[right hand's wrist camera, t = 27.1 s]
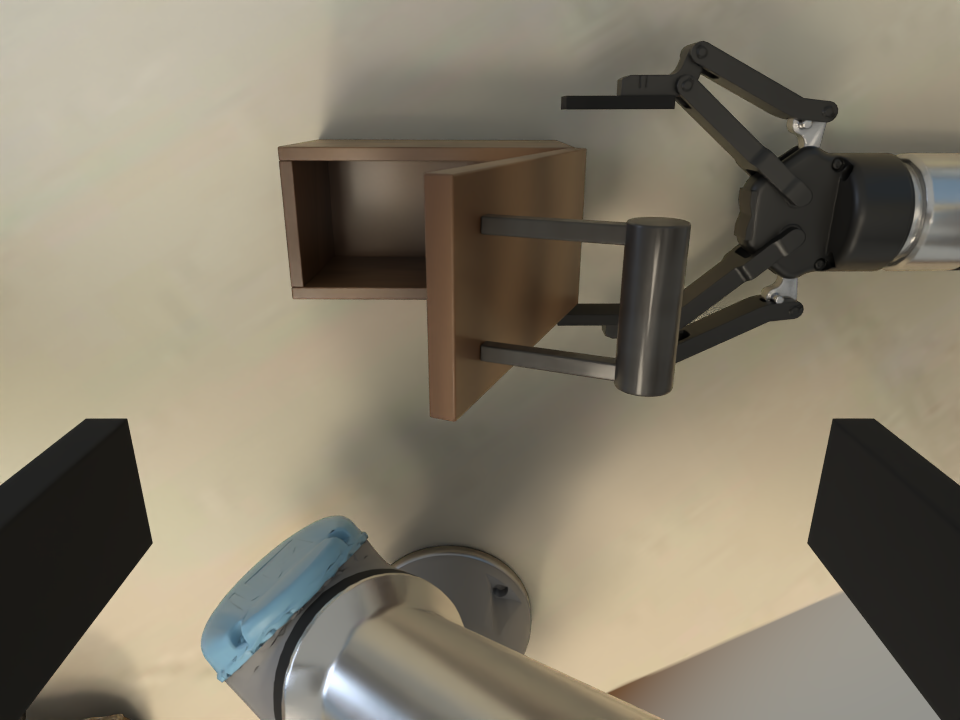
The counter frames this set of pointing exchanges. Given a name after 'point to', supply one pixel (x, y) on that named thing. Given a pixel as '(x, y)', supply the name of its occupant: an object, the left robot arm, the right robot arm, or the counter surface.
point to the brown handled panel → (538, 279)
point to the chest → (369, 210)
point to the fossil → (111, 719)
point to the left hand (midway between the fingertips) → (558, 214)
